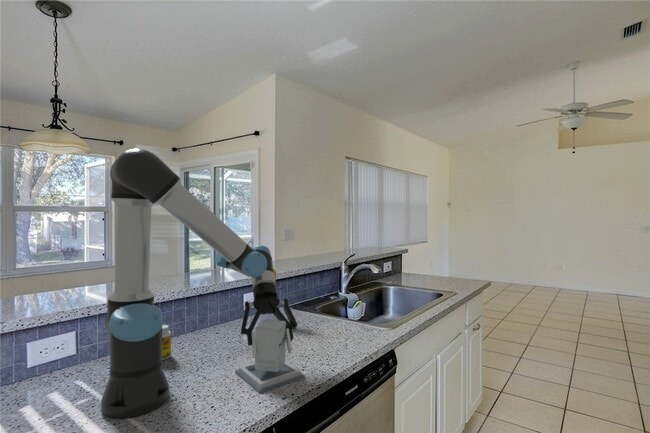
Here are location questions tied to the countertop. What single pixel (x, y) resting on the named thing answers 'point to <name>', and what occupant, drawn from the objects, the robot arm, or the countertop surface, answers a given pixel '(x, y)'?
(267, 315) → the soap bottle
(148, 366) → the robot arm
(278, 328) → the supplement box
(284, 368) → the slate base tray
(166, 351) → the supplement bottle
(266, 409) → the countertop surface
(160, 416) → the countertop surface
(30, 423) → the countertop surface
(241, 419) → the countertop surface
